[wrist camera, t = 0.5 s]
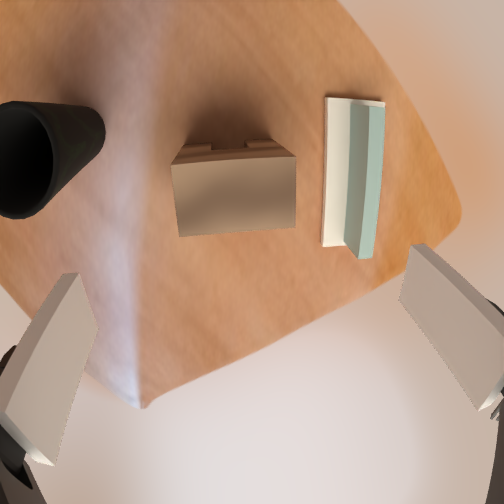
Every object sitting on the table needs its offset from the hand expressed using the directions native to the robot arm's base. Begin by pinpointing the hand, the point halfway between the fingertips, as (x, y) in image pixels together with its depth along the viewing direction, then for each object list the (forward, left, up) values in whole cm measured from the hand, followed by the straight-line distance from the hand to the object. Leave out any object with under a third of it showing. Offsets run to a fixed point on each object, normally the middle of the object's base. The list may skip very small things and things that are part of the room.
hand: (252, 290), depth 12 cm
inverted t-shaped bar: (+1, +12, -19) cm, 23 cm away
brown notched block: (0, 0, -19) cm, 19 cm away
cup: (-5, -14, -19) cm, 24 cm away
